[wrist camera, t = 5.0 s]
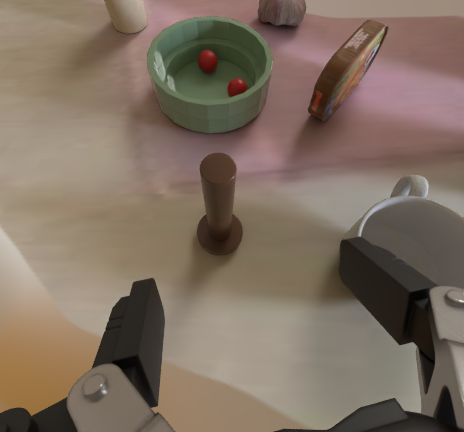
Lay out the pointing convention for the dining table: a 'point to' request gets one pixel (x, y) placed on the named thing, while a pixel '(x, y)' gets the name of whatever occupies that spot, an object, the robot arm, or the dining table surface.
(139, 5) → the candle
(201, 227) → the muddler
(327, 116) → the tin
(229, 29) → the bowl
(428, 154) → the dining table surface
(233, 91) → the berry
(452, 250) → the teacup
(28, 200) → the dining table surface
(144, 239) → the dining table surface
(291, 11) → the garlic bulb
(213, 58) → the berry
